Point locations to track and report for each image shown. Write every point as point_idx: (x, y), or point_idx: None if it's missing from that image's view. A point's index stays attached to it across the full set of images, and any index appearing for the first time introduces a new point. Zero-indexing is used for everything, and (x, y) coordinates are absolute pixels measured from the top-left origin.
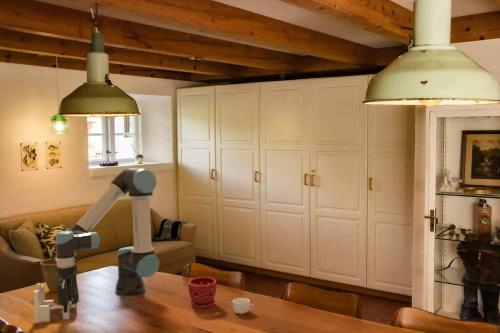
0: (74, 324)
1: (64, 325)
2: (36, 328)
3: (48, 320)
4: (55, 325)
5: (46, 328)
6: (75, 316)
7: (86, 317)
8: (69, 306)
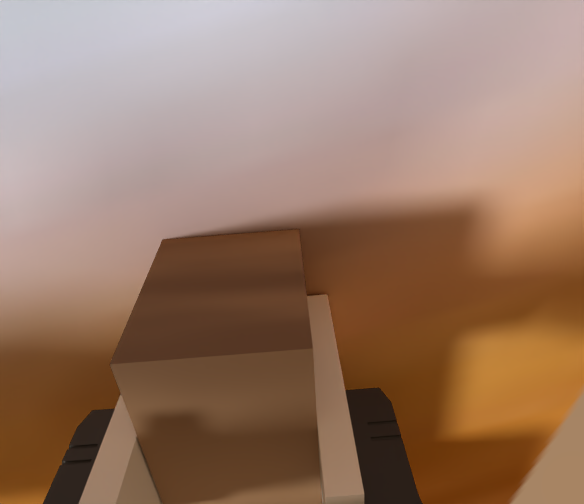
0: (572, 164)
1: (552, 284)
2: (523, 483)
3: None
4: (507, 372)
5: (564, 419)
6: (268, 240)
7: (282, 44)
8: (241, 439)
